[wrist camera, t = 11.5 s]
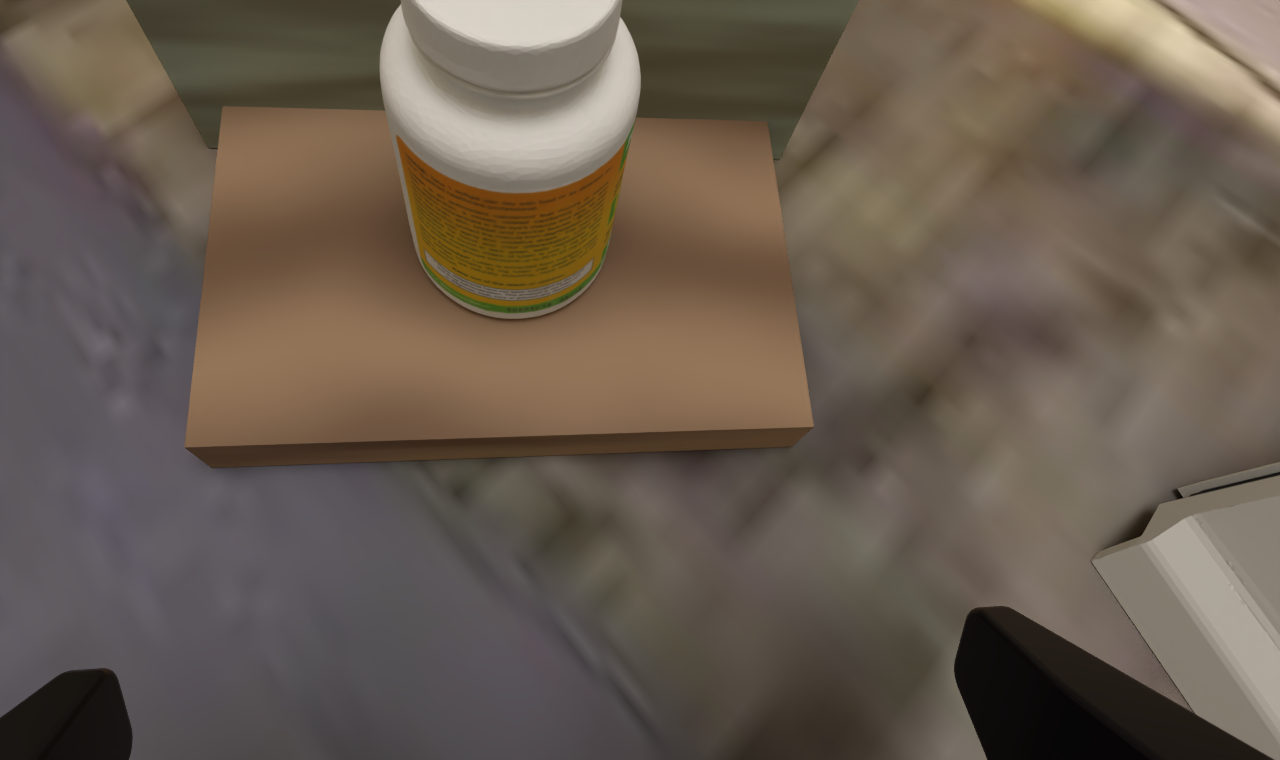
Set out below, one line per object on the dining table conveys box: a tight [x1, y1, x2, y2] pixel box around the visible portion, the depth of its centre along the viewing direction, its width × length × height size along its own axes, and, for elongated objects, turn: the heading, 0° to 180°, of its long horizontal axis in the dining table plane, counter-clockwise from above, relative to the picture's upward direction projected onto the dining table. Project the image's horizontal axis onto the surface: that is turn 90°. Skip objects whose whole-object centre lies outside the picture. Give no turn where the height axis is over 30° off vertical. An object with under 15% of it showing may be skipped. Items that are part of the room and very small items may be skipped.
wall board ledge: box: [126, 0, 859, 468], centre depth 22 cm, size 12×18×8 cm, turn 94°
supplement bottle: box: [379, 0, 641, 319], centre depth 19 cm, size 5×5×10 cm
